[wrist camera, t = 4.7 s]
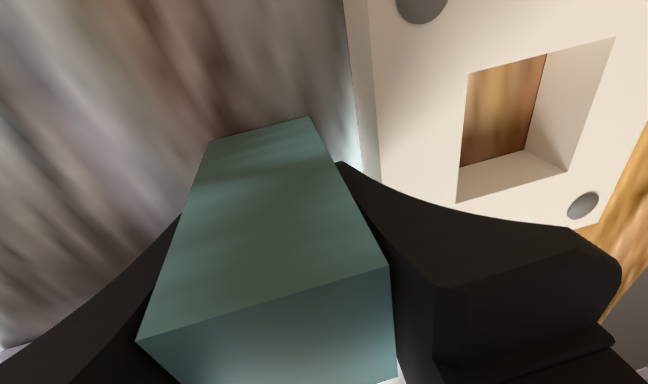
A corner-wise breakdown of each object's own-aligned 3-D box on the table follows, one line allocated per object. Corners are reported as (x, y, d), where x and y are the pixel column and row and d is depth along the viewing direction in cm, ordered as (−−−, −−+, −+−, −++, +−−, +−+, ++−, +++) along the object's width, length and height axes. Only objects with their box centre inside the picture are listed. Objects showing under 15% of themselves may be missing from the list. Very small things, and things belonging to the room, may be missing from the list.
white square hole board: (373, 251, 16) (391, 287, 14) (335, -59, 9) (362, -84, 7) (557, 197, 17) (599, 223, 15) (673, -131, 10) (795, -173, 7)
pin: (244, 219, 13) (233, 431, 6) (208, 141, 11) (134, 341, 4) (326, 196, 13) (397, 376, 7) (308, 115, 11) (389, 265, 4)
